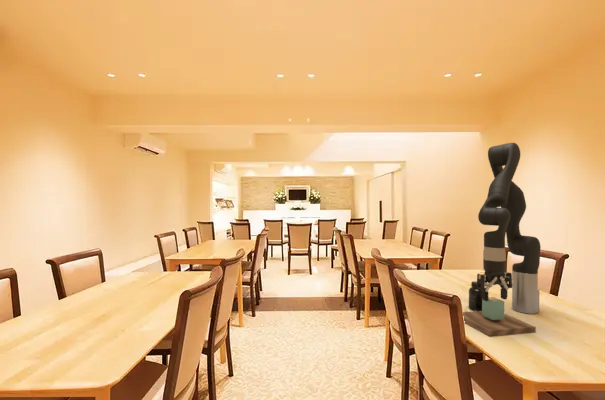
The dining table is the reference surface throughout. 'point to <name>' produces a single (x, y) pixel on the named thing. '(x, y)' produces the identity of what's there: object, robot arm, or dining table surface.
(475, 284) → the supplement bottle
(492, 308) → the green cube with circle
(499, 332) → the brown wooden board
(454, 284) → the dining table surface
